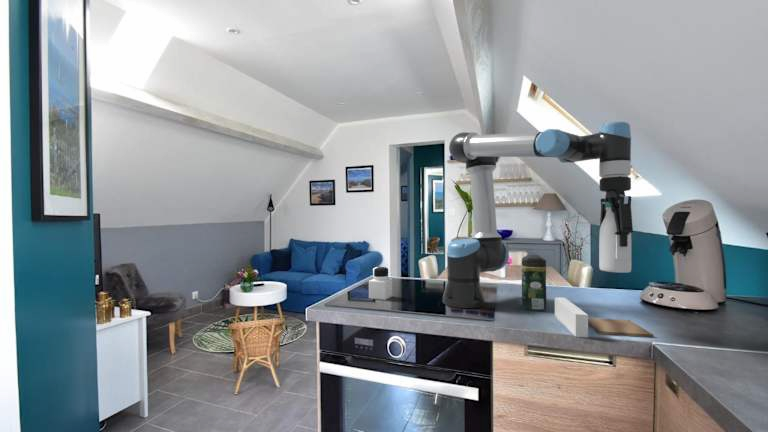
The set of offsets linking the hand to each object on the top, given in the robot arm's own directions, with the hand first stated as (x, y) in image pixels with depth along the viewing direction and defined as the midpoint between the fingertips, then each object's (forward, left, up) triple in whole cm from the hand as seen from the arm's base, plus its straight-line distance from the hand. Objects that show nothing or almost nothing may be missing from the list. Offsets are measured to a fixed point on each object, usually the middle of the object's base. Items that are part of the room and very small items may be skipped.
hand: (615, 256), depth 100 cm
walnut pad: (0, 0, -21) cm, 21 cm away
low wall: (-12, 0, -20) cm, 24 cm away
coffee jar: (-18, +19, -21) cm, 33 cm away
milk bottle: (0, 0, -4) cm, 4 cm away
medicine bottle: (-74, +24, -21) cm, 81 cm away
